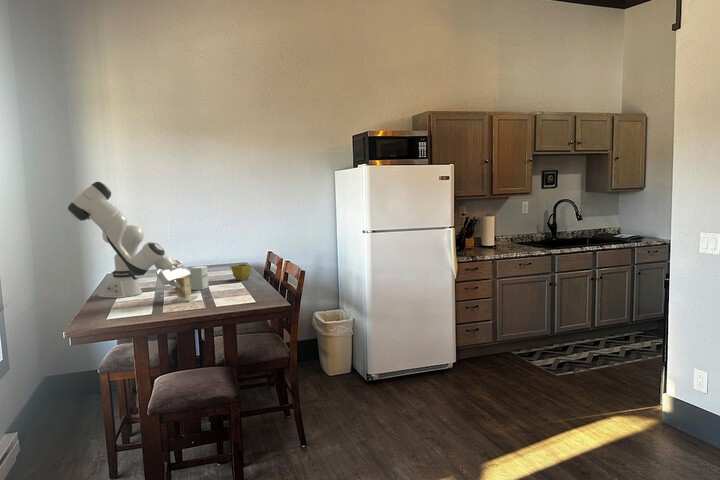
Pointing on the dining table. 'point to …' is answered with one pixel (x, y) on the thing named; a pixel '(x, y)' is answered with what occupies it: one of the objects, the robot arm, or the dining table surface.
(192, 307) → the dining table surface
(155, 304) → the dining table surface
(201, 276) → the supplement box
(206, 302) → the dining table surface
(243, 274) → the flower pot
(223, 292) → the dining table surface
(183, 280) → the beech block
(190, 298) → the tile
